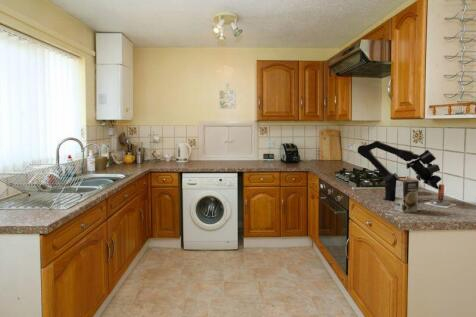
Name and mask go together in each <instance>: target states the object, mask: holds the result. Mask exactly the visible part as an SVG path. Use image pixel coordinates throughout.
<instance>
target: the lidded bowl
mask: <svg viewBox="0 0 476 317" xmlns="http://www.w3.org/2000/svg"><path fill="white" fill-rule="evenodd" d="M399 179H400V180H414V181H419V180H418V179H417V178H412V177H411V178H410V177H409V176H406V177H400V178H399Z"/></svg>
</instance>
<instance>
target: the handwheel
mask: <svg viewBox="0 0 476 317" xmlns="http://www.w3.org/2000/svg"><path fill="white" fill-rule="evenodd" d="M444 196H445V184H441V183H440V184H438V189H437V199H431V200H429V202H430V203H433V204H437V205H450V204H451V201H449V200H444Z"/></svg>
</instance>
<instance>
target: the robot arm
mask: <svg viewBox="0 0 476 317" xmlns="http://www.w3.org/2000/svg"><path fill="white" fill-rule="evenodd" d="M376 148H377V149H380V150H382V151H385V152H386V153H390V154H393V155H395V156H396V157H398V158H400V159H401V160H403V161H405V162H406V166H405V167H406V170H408V169H410V168H411V169H412V171H414V172H415V175H416V177H415V179H417V180H418V181H419V182H421V181H423V184H425V185H427V186H429V187H431V188H433V189H436V190H438V187H439V184H438V183H439V182H440V181H441V180H442V177H440V176H439V175H436V174H434V173H437V172H440V171H441V169H440V167H439V166H440V165H439V164H436V163H435V164H434V163H433V164H432V162H434V161H436V160H437V157H436V156H435V155H434V154H433V153H432V152H431V151H430V150H429V149H426V150H425V151H424V152H422V153H421V154H417V153H414V151H411V150H407V149H401V148H397V147H395V146H392V145H390V144H386V143H384V142H381V141H380V140H376V141H373V142H372V143H371V142H370V143H369V144H362V145H359V146H358V147H357V153H358V154H359V155H360V156H362V158H365V159H366V160H367V161H369V162H370V164H372V166H374V167H375V169H376V170H377V171H378V172H379V173H380V174H381V175H382V176H383V177H384V179H385V180H386V183H387V184H385V186H384V188H385V194H384V195H385V196H384V197H383V198H382V199H383V200H386V201H391V202H395V195H396V180H400V179H399V178H401V177H400V176H398V175H397V173H396V172H394V173H392V172H391V171H390V170H388V168H386V166H385V165H384V164H383V163H382V162H381V161H380V160H379V159H378V158H377V157H376V156H375V155H374V153H373V151H372V150H375V149H376ZM425 165H426V166H425Z"/></svg>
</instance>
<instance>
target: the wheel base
mask: <svg viewBox="0 0 476 317" xmlns="http://www.w3.org/2000/svg"><path fill="white" fill-rule="evenodd" d="M423 204H424V205H427V206H433V207H438V208H442V209H447V208H452V207H455V206H457V204H456V203H451V204H450V205H437V204H433V203H430V201H427V202H424V203H423Z"/></svg>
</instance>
